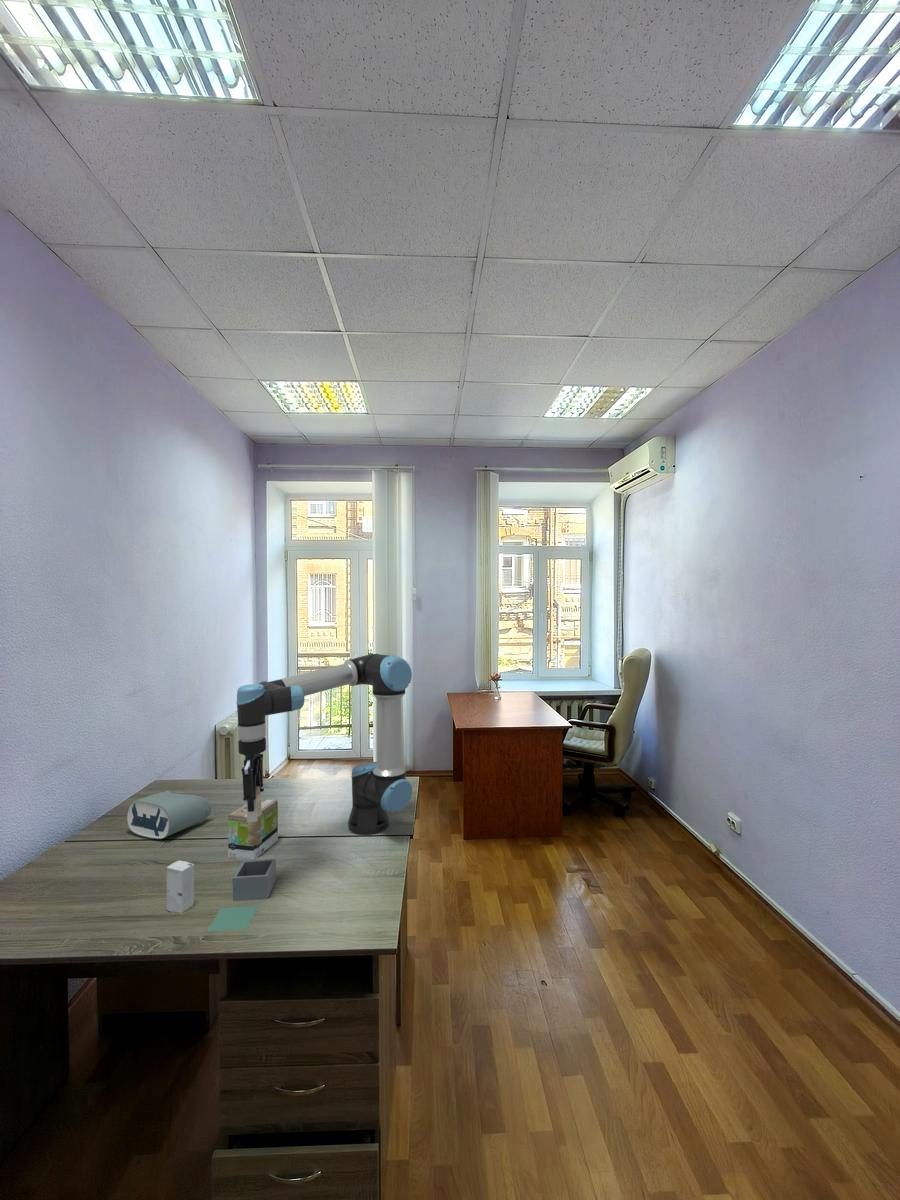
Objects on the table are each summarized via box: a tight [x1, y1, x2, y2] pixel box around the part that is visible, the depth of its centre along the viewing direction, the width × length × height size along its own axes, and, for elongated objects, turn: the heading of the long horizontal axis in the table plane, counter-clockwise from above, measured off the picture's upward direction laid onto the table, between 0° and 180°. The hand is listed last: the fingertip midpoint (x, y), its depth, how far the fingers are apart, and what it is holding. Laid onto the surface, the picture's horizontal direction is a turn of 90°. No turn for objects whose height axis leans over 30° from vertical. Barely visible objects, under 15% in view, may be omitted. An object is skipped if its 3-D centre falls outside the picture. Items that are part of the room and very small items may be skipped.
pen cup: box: [232, 858, 277, 902], centre depth 152 cm, size 10×10×7 cm
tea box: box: [227, 798, 279, 860], centre depth 178 cm, size 15×10×15 cm, turn 168°
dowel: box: [248, 786, 262, 845], centre depth 152 cm, size 4×4×16 cm
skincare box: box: [166, 860, 195, 914], centre depth 144 cm, size 6×4×12 cm
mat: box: [207, 905, 259, 933], centre depth 139 cm, size 10×10×1 cm
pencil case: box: [125, 790, 212, 840], centre depth 196 cm, size 22×19×13 cm
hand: (254, 817), depth 152 cm, fingers closed on dowel, 3 cm apart
